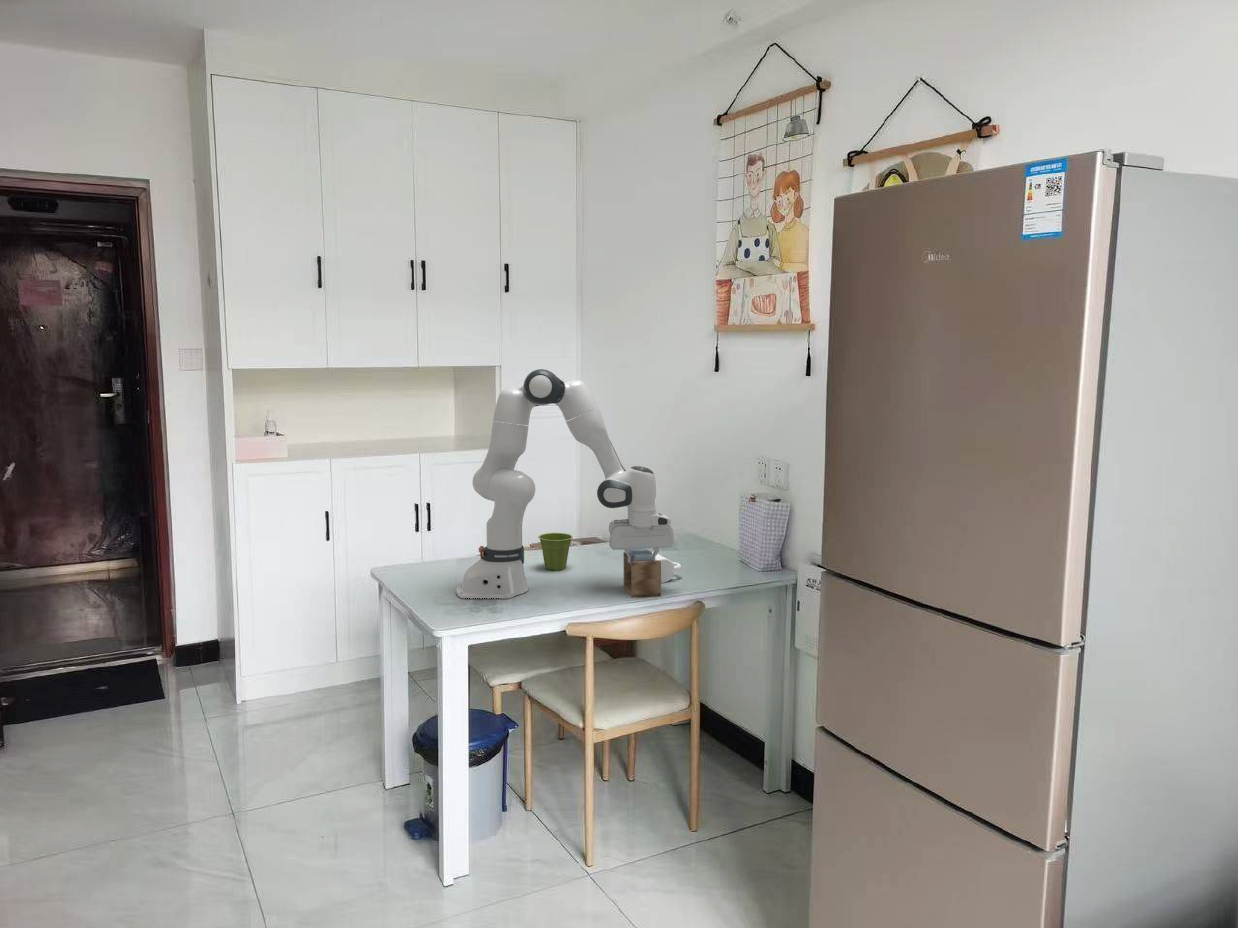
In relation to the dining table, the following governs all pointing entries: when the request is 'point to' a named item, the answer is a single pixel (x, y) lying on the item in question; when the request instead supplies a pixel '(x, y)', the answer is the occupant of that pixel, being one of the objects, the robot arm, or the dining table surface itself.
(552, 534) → the plant pot
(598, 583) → the dining table surface
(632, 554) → the light blue block
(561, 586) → the dining table surface
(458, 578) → the dining table surface
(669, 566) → the mug
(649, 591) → the stand
